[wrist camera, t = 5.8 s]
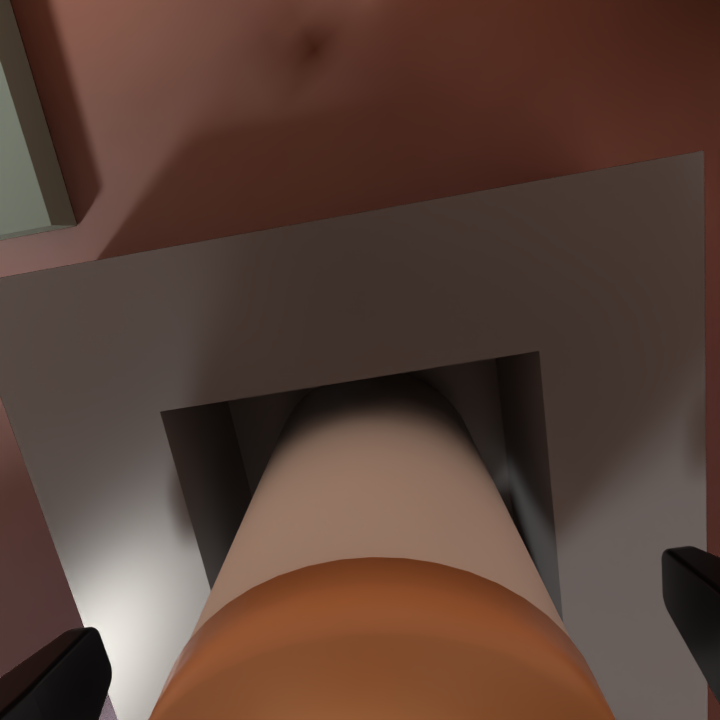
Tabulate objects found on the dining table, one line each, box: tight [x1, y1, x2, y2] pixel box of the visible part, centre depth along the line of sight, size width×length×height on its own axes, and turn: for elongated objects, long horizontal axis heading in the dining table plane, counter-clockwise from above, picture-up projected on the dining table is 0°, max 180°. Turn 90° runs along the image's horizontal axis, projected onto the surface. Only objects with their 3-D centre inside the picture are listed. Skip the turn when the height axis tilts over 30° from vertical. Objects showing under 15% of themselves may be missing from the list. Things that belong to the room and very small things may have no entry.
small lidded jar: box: [149, 373, 616, 720], centre depth 9 cm, size 5×5×8 cm
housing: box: [0, 151, 708, 720], centre depth 13 cm, size 12×22×4 cm, turn 10°
